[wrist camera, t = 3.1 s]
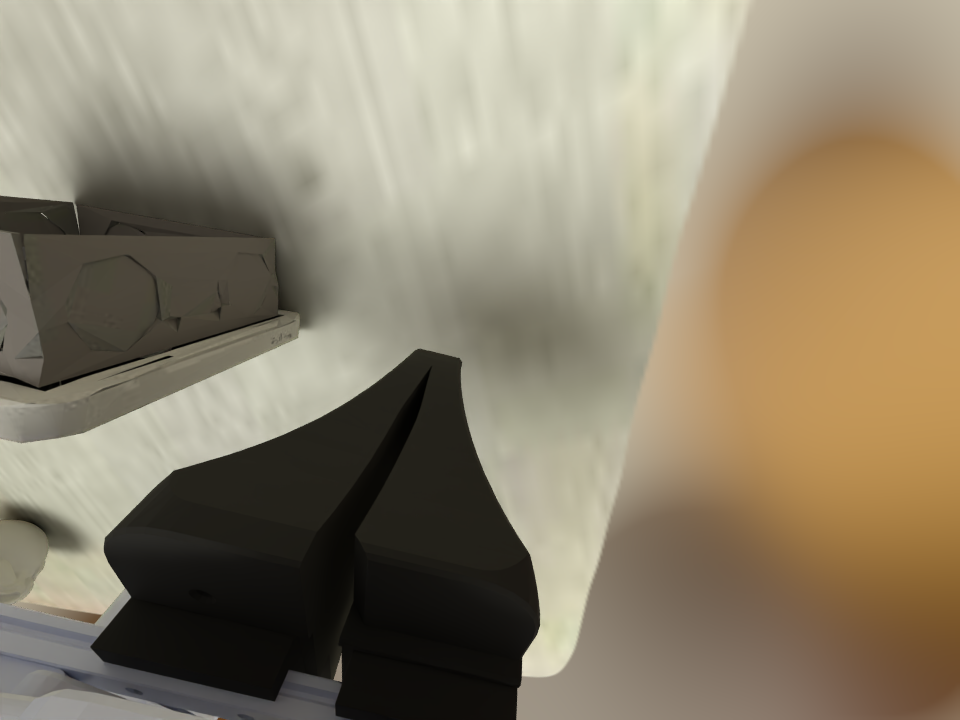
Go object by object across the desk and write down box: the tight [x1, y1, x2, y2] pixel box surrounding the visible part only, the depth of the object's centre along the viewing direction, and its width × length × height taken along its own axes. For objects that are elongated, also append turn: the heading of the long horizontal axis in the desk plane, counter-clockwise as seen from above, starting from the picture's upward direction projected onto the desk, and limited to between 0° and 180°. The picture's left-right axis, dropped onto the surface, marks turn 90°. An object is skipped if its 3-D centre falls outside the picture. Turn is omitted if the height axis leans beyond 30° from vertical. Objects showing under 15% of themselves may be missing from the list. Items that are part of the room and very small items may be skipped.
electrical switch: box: [0, 196, 300, 443], centre depth 11 cm, size 9×5×9 cm, turn 82°
